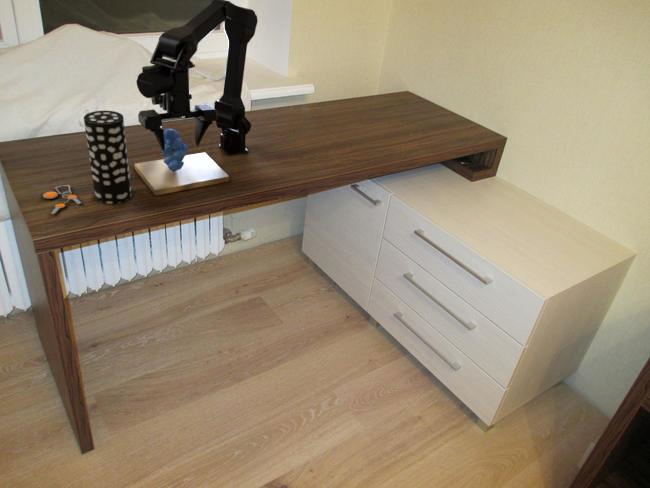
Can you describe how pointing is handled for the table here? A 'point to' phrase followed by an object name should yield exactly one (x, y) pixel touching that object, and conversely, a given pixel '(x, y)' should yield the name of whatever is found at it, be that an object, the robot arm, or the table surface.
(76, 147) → the table surface
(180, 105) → the robot arm
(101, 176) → the spotted tube
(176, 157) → the grapes
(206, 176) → the board
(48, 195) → the key chain
